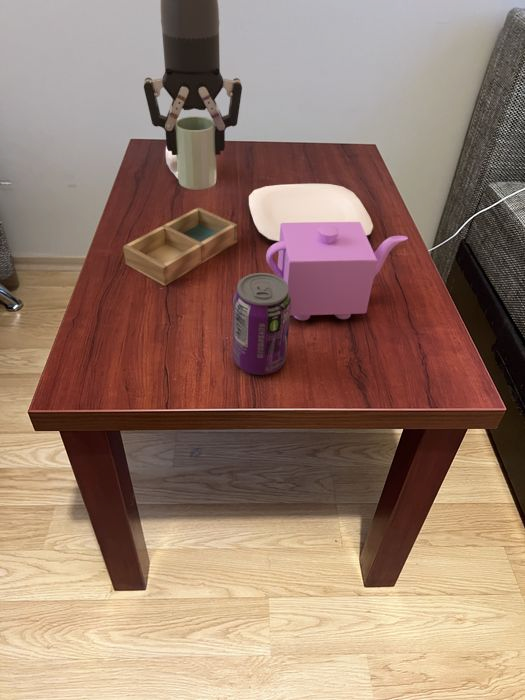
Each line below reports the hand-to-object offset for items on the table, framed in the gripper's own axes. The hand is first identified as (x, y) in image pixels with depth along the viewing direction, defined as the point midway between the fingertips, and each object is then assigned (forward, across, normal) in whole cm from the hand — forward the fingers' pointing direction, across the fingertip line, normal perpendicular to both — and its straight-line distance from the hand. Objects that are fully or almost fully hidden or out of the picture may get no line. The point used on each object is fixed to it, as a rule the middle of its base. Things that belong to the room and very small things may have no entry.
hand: (196, 152), depth 83 cm
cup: (+5, 0, 0) cm, 5 cm away
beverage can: (+16, +7, -30) cm, 35 cm away
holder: (+16, -3, -3) cm, 17 cm away
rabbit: (+16, -2, +27) cm, 31 cm away
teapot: (+16, +19, -18) cm, 31 cm away
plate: (+16, +20, +8) cm, 27 cm away
